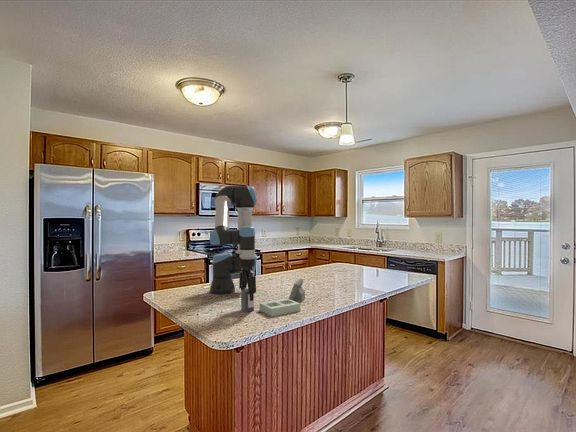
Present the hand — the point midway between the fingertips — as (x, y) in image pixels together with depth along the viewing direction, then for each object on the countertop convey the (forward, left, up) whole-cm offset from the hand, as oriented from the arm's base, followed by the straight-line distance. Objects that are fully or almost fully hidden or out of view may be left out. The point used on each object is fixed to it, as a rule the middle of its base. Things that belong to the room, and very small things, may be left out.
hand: (247, 305), depth 157 cm
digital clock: (-3, +31, -3) cm, 31 cm away
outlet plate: (+9, +13, -2) cm, 16 cm away
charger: (0, 0, -2) cm, 2 cm away
